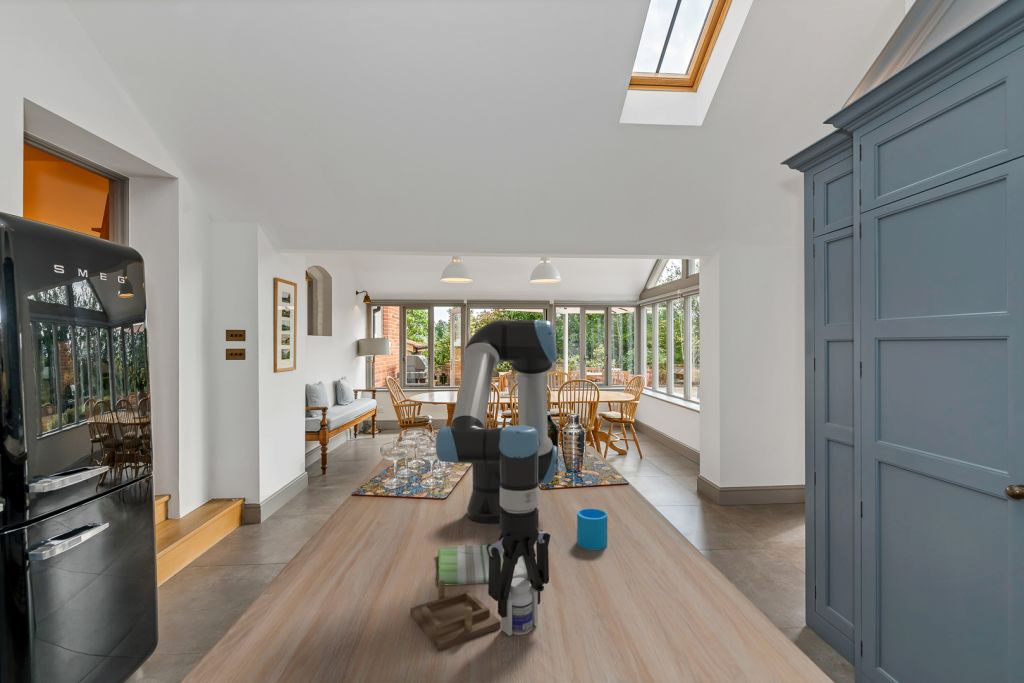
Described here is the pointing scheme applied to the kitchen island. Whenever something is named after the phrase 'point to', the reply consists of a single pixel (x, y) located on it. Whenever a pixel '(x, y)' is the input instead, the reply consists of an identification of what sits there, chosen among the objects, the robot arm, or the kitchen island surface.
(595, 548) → the mug
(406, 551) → the kitchen island surface
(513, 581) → the pill bottle
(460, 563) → the dish towel
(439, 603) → the cradle
